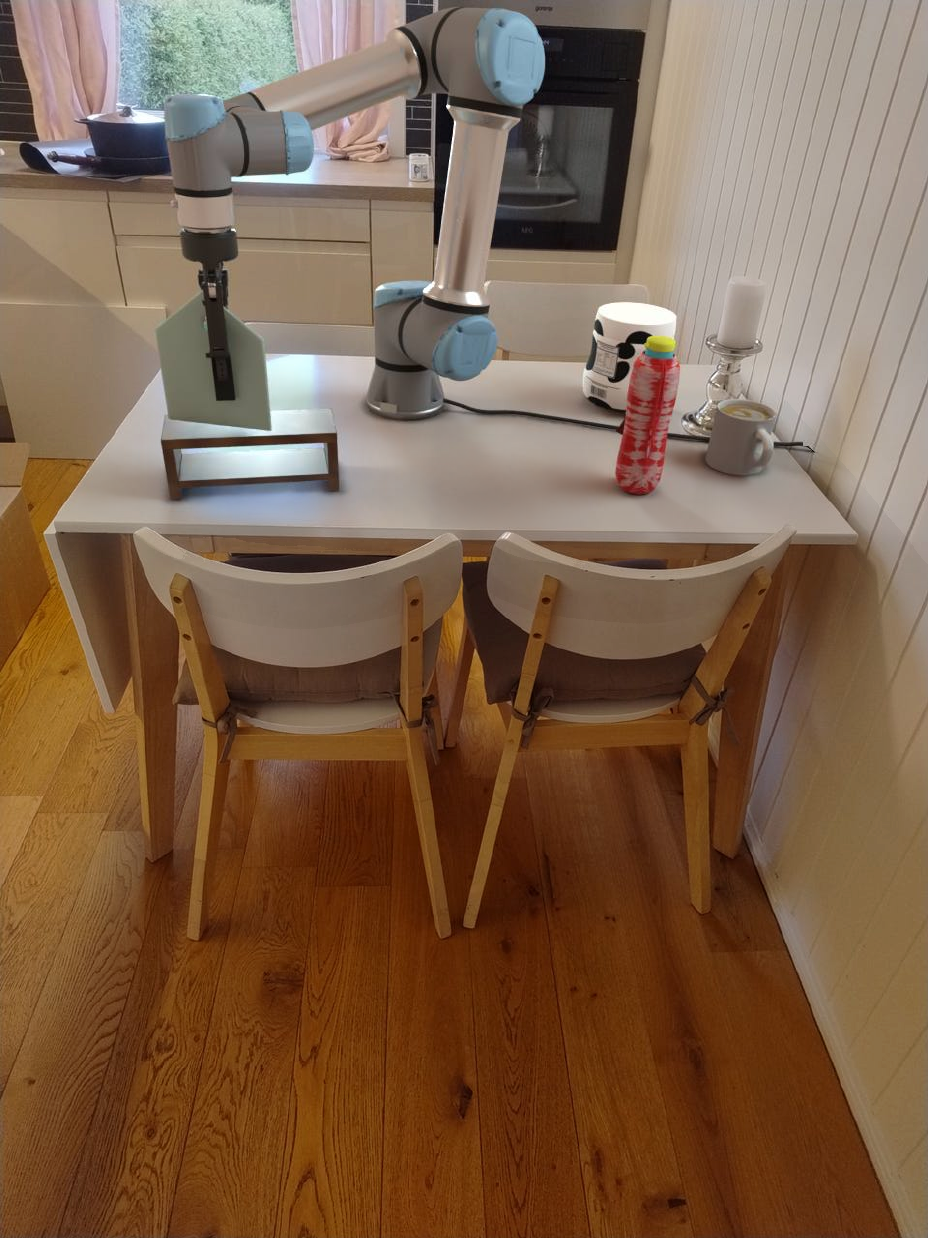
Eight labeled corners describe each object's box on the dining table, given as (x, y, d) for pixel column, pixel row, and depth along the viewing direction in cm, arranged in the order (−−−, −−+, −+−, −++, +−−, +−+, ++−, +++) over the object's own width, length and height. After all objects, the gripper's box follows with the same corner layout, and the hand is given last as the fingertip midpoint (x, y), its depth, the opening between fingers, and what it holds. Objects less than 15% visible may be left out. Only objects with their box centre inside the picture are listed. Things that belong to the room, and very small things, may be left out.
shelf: (334, 464, 148) (331, 408, 142) (339, 491, 140) (337, 432, 134) (174, 472, 143) (165, 414, 137) (170, 500, 135) (160, 439, 129)
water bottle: (605, 467, 152) (627, 321, 137) (650, 469, 152) (677, 323, 137) (615, 499, 142) (639, 345, 127) (664, 501, 142) (694, 348, 128)
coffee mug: (697, 451, 159) (708, 398, 153) (749, 451, 160) (762, 398, 154) (724, 484, 148) (737, 429, 142) (779, 483, 149) (795, 428, 143)
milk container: (665, 393, 183) (681, 305, 172) (666, 424, 169) (684, 330, 158) (582, 384, 185) (593, 296, 174) (577, 414, 171) (588, 321, 160)
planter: (288, 411, 137) (279, 281, 125) (271, 431, 130) (258, 295, 119) (190, 400, 139) (171, 271, 127) (168, 419, 132) (146, 284, 121)
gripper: (182, 211, 126) (202, 364, 139) (174, 245, 109) (197, 416, 122) (236, 211, 128) (251, 363, 141) (235, 245, 111) (252, 414, 124)
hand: (226, 388), depth 132 cm, fingers closed on planter, 9 cm apart
